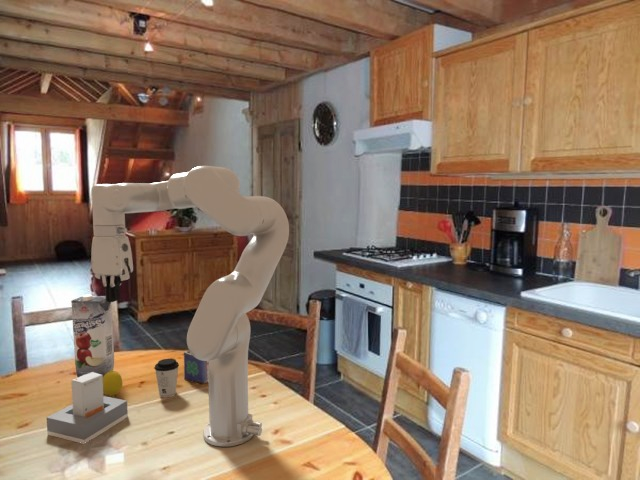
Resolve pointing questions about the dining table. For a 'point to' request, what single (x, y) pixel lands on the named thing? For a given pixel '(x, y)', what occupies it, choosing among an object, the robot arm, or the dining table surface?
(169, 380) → the coffee cup
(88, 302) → the juice carton
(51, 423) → the socket plate
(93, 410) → the skincare box
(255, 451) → the dining table surface
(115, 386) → the lemon
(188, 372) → the flask
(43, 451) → the dining table surface
